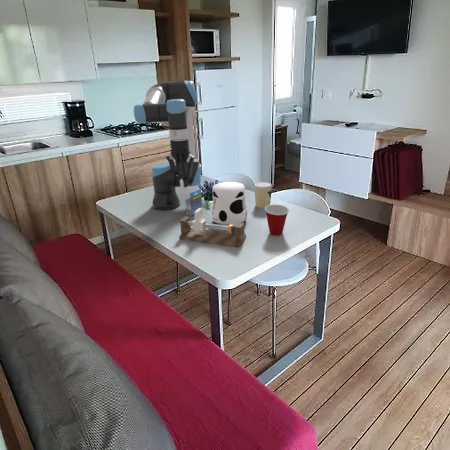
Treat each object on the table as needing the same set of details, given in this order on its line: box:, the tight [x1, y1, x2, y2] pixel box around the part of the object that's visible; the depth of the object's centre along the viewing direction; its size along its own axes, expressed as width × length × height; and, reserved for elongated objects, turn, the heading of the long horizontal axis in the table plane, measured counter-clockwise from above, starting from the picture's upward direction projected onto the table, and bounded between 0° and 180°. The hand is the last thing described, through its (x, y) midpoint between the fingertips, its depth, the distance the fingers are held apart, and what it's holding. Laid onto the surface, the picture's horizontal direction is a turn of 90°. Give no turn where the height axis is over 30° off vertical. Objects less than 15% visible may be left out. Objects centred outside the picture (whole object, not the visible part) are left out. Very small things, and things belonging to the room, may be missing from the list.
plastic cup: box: [264, 204, 290, 237], centre depth 162 cm, size 11×11×12 cm
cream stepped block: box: [191, 207, 207, 231], centre depth 161 cm, size 5×5×9 cm
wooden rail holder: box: [178, 216, 247, 248], centre depth 160 cm, size 28×10×8 cm, turn 69°
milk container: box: [211, 181, 248, 226], centre depth 175 cm, size 17×17×18 cm
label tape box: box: [185, 189, 203, 217], centre depth 189 cm, size 9×4×12 cm, turn 144°
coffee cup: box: [253, 181, 273, 209], centre depth 194 cm, size 9×9×12 cm
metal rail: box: [187, 220, 237, 234], centre depth 160 cm, size 26×4×4 cm, turn 69°
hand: (184, 193), depth 158 cm, fingers closed
